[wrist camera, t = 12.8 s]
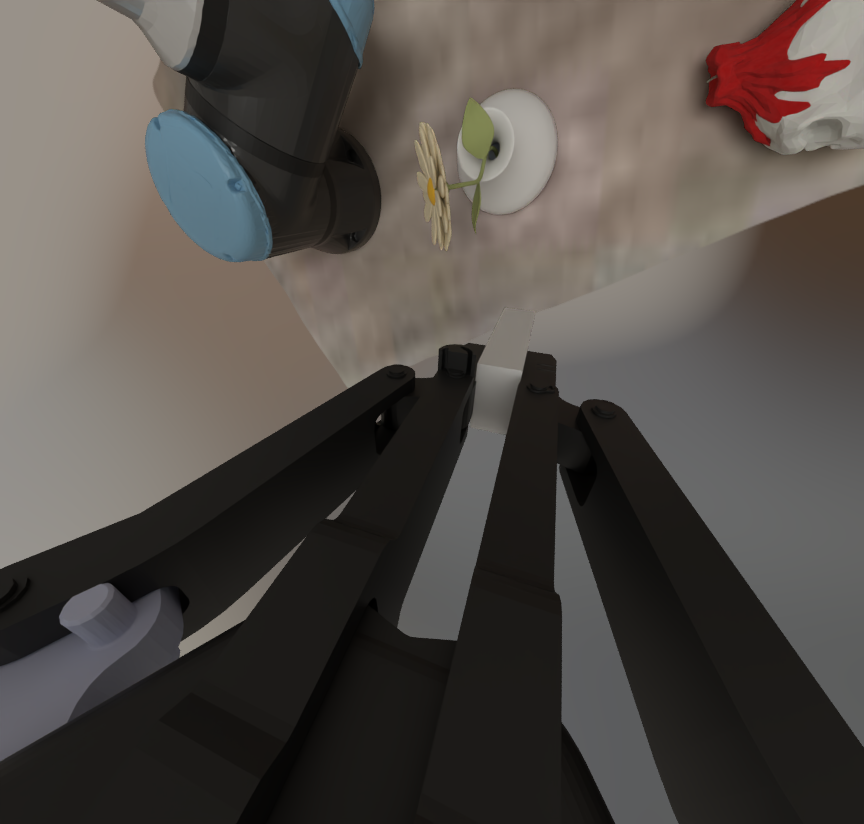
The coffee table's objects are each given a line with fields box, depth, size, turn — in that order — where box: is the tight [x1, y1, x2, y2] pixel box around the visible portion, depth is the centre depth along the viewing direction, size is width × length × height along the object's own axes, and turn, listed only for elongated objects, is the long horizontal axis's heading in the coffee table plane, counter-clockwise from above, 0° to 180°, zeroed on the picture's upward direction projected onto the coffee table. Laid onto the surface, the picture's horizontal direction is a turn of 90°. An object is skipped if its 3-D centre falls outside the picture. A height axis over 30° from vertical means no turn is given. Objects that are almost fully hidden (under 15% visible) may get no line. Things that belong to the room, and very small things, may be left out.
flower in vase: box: [414, 88, 558, 251], centre depth 29 cm, size 13×11×25 cm
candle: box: [706, 0, 864, 155], centre depth 26 cm, size 9×11×15 cm
